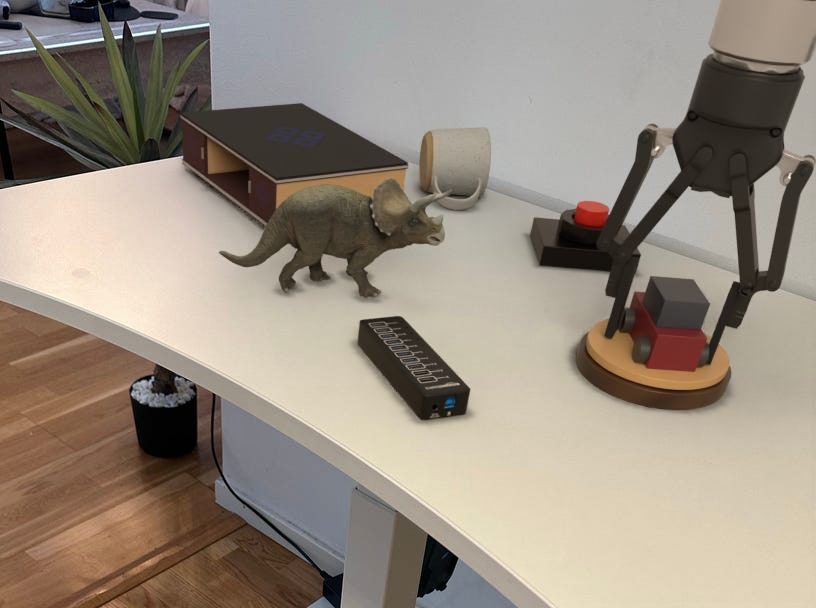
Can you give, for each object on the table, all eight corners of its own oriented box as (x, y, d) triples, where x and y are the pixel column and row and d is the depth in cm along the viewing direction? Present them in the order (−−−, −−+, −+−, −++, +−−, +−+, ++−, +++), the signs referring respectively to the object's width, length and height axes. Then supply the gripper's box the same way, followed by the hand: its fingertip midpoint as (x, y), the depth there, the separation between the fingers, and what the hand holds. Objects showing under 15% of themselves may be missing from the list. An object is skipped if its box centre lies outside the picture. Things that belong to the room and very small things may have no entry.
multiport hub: (398, 337, 87) (401, 314, 85) (467, 414, 77) (472, 389, 76) (355, 342, 85) (358, 319, 84) (421, 421, 76) (425, 396, 74)
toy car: (745, 394, 80) (775, 325, 76) (601, 384, 80) (622, 314, 75) (703, 328, 89) (728, 263, 85) (574, 319, 89) (591, 253, 84)
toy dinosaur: (217, 295, 91) (215, 174, 83) (225, 261, 97) (224, 146, 89) (436, 311, 92) (454, 194, 84) (430, 277, 98) (447, 165, 90)
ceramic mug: (414, 181, 120) (422, 116, 115) (474, 183, 121) (485, 120, 115) (426, 211, 113) (435, 144, 107) (490, 214, 113) (503, 147, 108)
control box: (620, 244, 109) (630, 209, 106) (635, 274, 103) (646, 238, 100) (529, 236, 109) (537, 200, 106) (539, 265, 102) (547, 229, 100)
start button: (602, 218, 105) (606, 202, 103) (607, 229, 102) (612, 213, 101) (571, 215, 104) (575, 199, 103) (576, 226, 102) (580, 210, 101)
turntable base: (703, 343, 91) (709, 329, 90) (744, 415, 81) (751, 400, 80) (565, 331, 90) (569, 317, 89) (589, 402, 80) (593, 387, 79)
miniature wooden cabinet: (274, 241, 102) (276, 177, 97) (181, 170, 116) (179, 112, 112) (401, 222, 109) (408, 162, 104) (299, 157, 124) (301, 102, 119)
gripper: (907, 76, 68) (781, 359, 83) (628, 28, 73) (560, 301, 89) (905, 96, 63) (772, 393, 78) (606, 43, 68) (538, 330, 84)
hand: (659, 344), depth 84 cm, fingers closed on toy car, 8 cm apart
